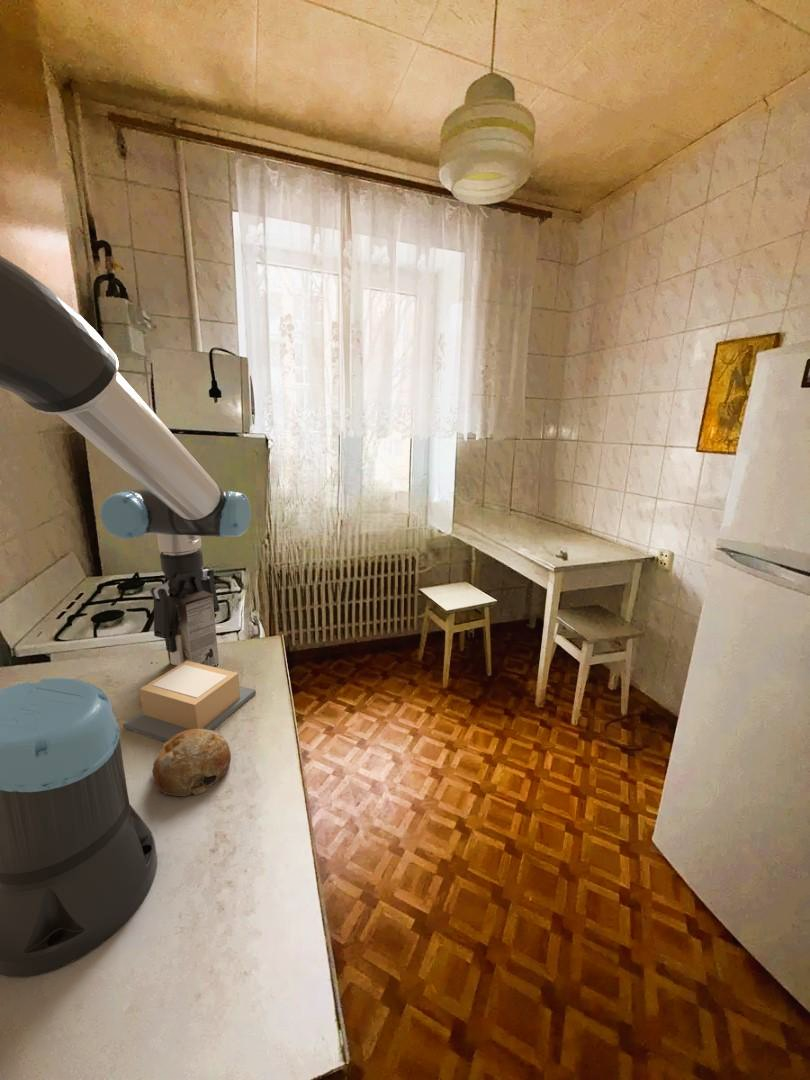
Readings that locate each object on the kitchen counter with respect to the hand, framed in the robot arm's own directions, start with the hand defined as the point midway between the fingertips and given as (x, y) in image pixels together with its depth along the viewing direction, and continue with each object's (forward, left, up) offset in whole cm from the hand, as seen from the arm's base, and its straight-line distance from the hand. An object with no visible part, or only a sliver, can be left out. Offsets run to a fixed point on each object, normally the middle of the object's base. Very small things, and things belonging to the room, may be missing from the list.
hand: (193, 654), depth 92 cm
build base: (-12, -12, -2) cm, 17 cm away
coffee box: (0, 0, -2) cm, 2 cm away
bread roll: (-23, -23, -3) cm, 33 cm away
